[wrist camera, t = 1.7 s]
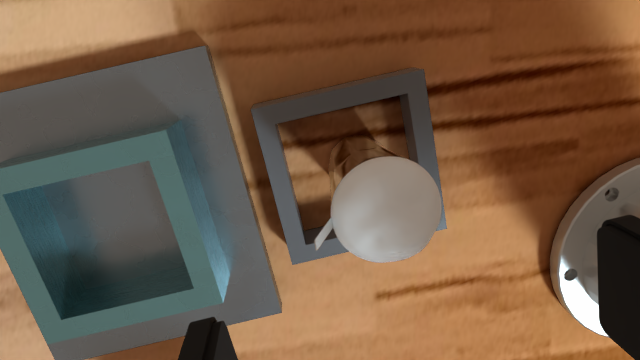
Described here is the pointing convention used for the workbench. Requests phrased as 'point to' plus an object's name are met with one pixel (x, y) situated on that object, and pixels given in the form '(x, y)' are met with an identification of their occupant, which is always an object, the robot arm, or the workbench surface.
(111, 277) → the panel
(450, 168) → the workbench surface
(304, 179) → the workbench surface
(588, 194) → the robot arm
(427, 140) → the square picture frame
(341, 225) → the milkshake
